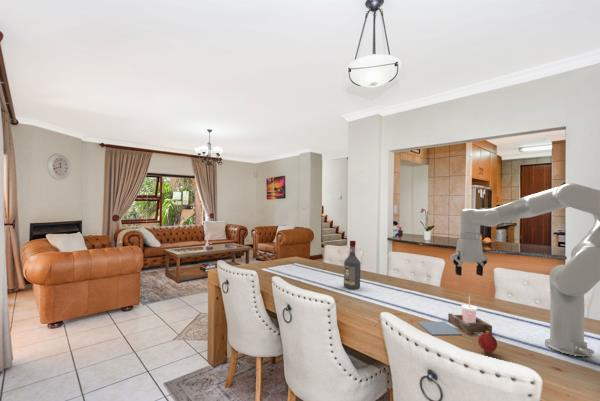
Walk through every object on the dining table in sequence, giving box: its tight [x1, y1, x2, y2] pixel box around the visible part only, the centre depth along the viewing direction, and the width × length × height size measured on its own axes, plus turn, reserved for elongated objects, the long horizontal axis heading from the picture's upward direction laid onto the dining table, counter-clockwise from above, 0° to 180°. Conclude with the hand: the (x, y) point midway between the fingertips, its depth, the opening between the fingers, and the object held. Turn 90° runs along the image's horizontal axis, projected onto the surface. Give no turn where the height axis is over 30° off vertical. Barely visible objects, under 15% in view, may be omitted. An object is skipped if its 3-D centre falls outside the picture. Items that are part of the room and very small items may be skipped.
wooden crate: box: [447, 313, 493, 335], centre depth 128 cm, size 14×11×4 cm
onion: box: [477, 331, 498, 354], centre depth 106 cm, size 6×6×8 cm
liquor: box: [343, 240, 361, 290], centre depth 188 cm, size 9×9×30 cm
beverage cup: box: [461, 295, 478, 323], centre depth 128 cm, size 6×6×14 cm
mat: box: [416, 321, 463, 336], centre depth 126 cm, size 13×13×1 cm
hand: (469, 275), depth 129 cm, fingers open, 9 cm apart
